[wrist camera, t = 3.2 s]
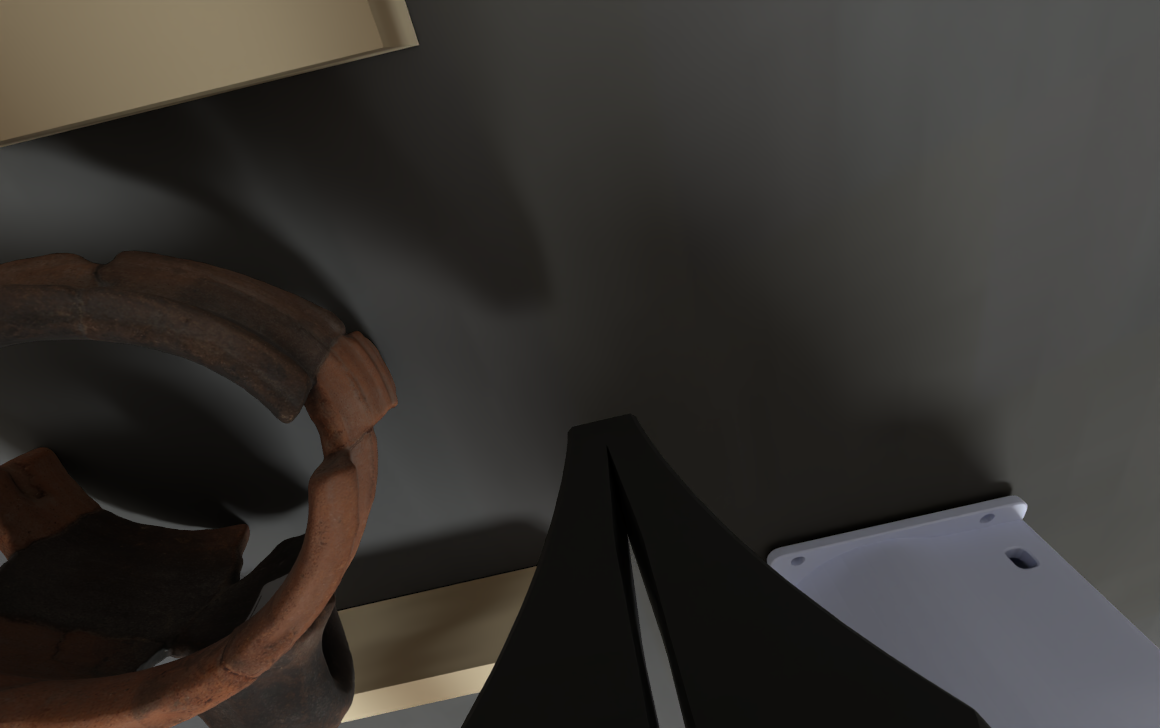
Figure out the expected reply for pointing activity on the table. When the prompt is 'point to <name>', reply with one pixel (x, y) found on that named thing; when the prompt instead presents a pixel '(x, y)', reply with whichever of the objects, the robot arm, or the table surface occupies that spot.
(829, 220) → the table surface
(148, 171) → the table surface
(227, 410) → the table surface
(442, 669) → the cradle
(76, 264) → the pottery mug
